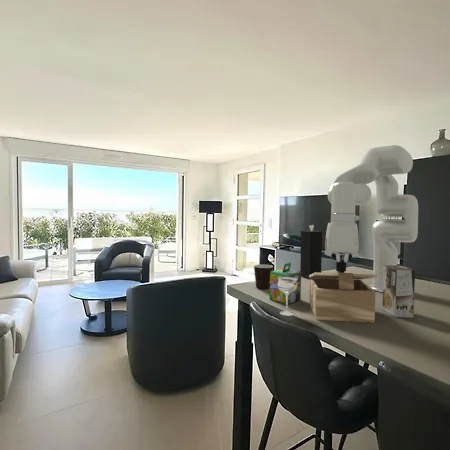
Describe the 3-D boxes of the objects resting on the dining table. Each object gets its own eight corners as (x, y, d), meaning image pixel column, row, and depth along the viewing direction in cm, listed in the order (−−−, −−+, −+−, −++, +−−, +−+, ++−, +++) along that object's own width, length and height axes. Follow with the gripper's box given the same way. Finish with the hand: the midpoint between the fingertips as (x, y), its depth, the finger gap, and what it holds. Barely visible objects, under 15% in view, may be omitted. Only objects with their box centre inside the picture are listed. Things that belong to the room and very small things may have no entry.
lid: (309, 288, 114) (308, 274, 115) (361, 291, 111) (361, 276, 112) (315, 288, 97) (315, 271, 98) (378, 290, 94) (377, 273, 95)
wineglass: (284, 317, 100) (284, 281, 100) (273, 311, 106) (273, 277, 106) (301, 315, 103) (301, 279, 102) (289, 309, 109) (289, 275, 109)
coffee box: (414, 317, 101) (416, 269, 100) (394, 317, 101) (396, 269, 100) (399, 309, 110) (400, 264, 109) (381, 308, 110) (382, 264, 109)
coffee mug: (260, 284, 145) (260, 263, 145) (276, 287, 140) (276, 266, 139) (246, 289, 136) (246, 267, 136) (262, 292, 131) (262, 269, 130)
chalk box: (282, 295, 127) (282, 260, 126) (301, 300, 120) (302, 263, 120) (268, 299, 120) (269, 262, 120) (288, 305, 114) (289, 265, 113)
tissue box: (299, 276, 164) (300, 224, 162) (311, 275, 167) (312, 224, 165) (309, 279, 156) (310, 225, 155) (321, 278, 159) (322, 225, 158)
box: (309, 303, 116) (310, 277, 115) (359, 306, 113) (360, 279, 112) (315, 319, 99) (316, 289, 98) (374, 322, 96) (375, 291, 96)
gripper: (362, 219, 105) (360, 272, 105) (318, 218, 107) (316, 270, 107) (369, 219, 97) (367, 276, 98) (321, 218, 99) (319, 274, 100)
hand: (340, 273), depth 102 cm, fingers closed
